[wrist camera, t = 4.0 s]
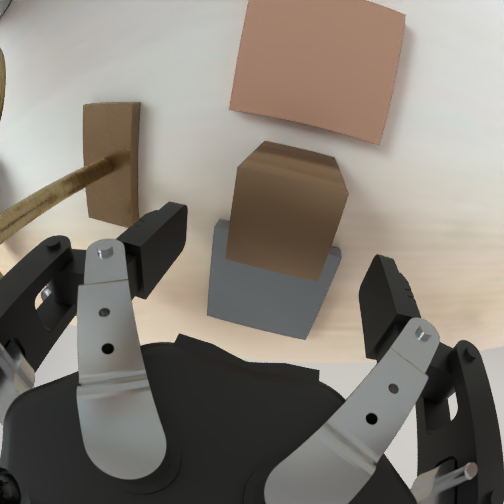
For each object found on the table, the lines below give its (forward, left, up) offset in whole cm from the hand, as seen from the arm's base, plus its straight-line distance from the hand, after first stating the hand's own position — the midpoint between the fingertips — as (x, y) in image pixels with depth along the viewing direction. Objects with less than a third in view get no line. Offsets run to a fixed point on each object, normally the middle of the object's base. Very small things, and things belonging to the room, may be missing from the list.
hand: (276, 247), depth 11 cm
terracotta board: (-9, 0, -8) cm, 12 cm away
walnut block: (0, 0, -8) cm, 8 cm away
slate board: (+8, 0, -8) cm, 11 cm away
